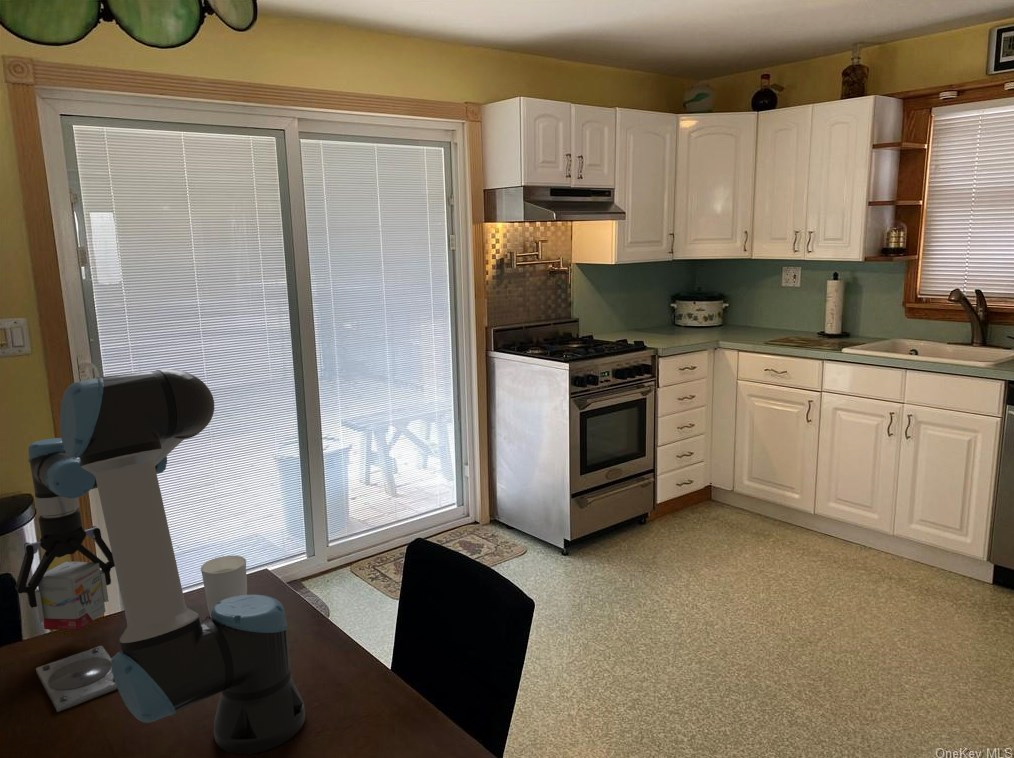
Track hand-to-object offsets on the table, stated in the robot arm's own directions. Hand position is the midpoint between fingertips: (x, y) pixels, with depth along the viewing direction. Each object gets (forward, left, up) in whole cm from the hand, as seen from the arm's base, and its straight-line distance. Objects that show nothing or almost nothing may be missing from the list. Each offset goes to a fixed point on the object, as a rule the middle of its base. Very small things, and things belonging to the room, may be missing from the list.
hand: (73, 609), depth 157 cm
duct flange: (-16, +3, -8) cm, 18 cm away
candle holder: (-10, -29, -8) cm, 32 cm away
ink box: (0, 0, -3) cm, 3 cm away
